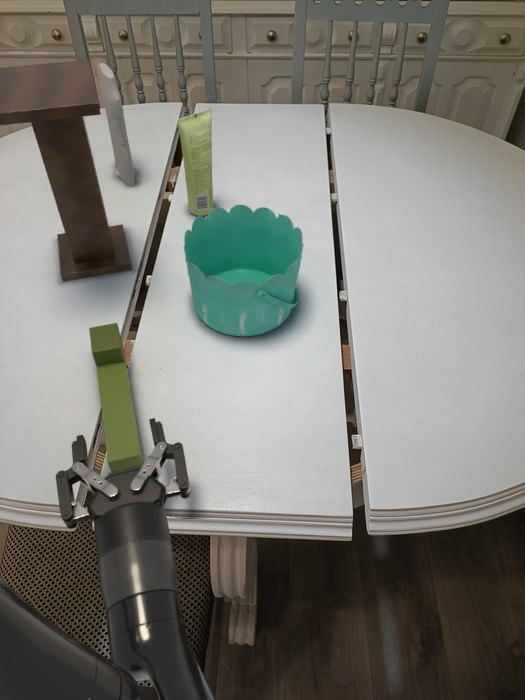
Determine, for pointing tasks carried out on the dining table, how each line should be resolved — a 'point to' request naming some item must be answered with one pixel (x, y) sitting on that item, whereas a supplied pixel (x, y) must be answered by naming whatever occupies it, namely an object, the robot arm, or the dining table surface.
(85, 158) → the brown wooden podium
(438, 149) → the dining table surface
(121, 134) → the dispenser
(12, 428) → the dining table surface
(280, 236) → the bucket
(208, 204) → the tube
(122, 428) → the green l-shaped block
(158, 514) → the robot arm
